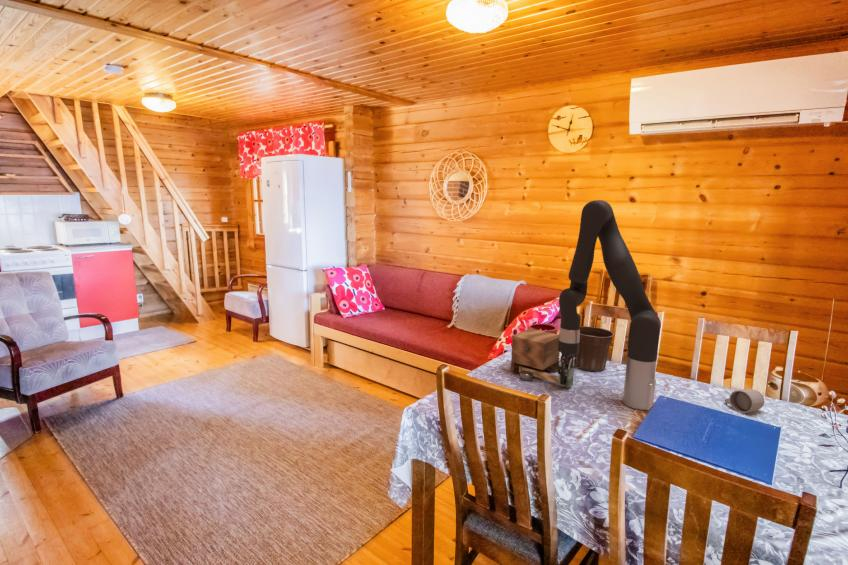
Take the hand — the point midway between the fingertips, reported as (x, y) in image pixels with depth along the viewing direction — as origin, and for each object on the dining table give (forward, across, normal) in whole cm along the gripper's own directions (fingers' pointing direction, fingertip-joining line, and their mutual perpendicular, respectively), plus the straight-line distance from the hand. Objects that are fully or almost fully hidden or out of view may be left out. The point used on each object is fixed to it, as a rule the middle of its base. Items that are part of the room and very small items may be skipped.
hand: (565, 382), depth 171 cm
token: (+2, -3, +15) cm, 16 cm away
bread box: (+2, +6, +16) cm, 17 cm away
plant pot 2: (+2, +35, +28) cm, 44 cm away
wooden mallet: (+1, 0, +9) cm, 9 cm away
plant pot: (+2, +29, +2) cm, 29 cm away
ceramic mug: (+2, +26, -53) cm, 59 cm away
